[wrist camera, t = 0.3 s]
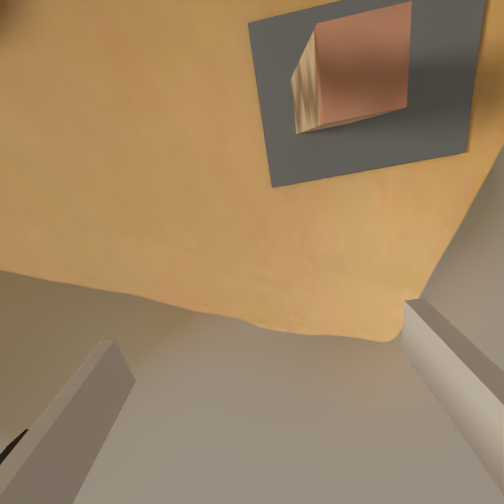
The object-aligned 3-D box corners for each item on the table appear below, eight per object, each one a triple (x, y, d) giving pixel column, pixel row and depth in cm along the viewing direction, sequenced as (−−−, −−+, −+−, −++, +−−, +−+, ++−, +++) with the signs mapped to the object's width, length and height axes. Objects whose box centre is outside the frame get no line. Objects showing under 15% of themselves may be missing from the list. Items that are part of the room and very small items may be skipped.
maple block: (290, 78, 29) (316, 23, 16) (342, 67, 29) (411, 0, 16) (296, 134, 31) (323, 124, 19) (344, 124, 31) (406, 107, 18)
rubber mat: (248, 25, 28) (248, 23, 27) (485, -32, 26) (490, -36, 25) (272, 186, 35) (272, 187, 34) (461, 152, 32) (464, 152, 32)
